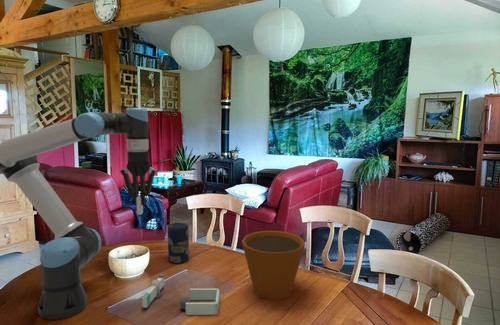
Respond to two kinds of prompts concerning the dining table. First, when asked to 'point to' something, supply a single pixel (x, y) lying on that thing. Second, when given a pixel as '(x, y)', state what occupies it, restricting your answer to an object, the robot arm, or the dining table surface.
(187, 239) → the canister
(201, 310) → the box
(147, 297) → the teal-tipped knobbed bar
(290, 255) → the flower pot
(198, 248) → the dining table surface
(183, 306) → the ball
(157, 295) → the pivot base
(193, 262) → the dining table surface
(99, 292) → the dining table surface
